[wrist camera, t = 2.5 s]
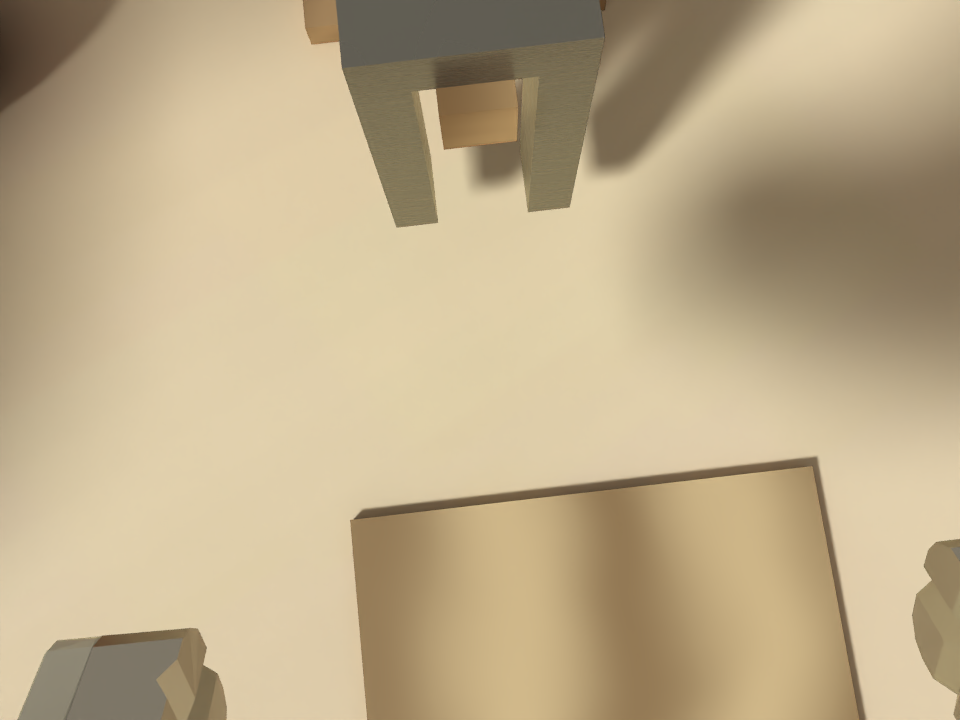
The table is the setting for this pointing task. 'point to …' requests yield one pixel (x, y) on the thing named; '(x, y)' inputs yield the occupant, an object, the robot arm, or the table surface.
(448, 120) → the stand
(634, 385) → the table surface
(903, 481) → the table surface
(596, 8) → the arch
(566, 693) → the mat
